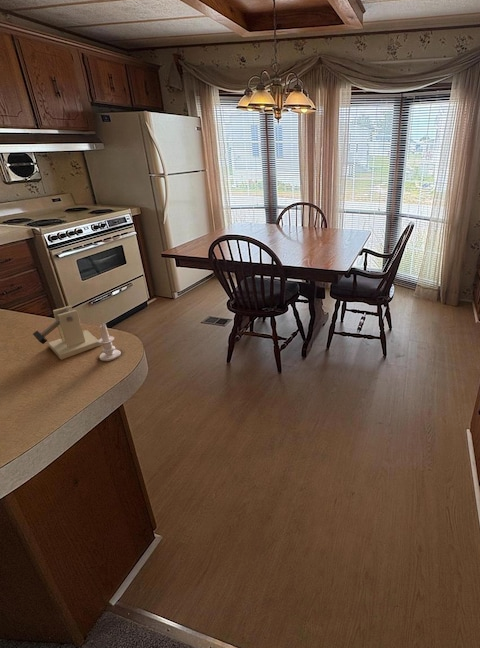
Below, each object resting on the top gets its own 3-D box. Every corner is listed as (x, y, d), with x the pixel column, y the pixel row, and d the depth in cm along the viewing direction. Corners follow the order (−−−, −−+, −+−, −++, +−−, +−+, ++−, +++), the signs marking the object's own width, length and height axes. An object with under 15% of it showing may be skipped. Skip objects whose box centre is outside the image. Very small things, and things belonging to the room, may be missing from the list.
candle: (105, 363, 94) (97, 330, 90) (95, 357, 96) (87, 324, 92) (124, 354, 98) (117, 322, 94) (114, 348, 100) (106, 317, 96)
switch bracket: (61, 359, 94) (49, 322, 90) (49, 346, 100) (37, 310, 96) (100, 345, 102) (91, 309, 97) (87, 334, 107) (78, 300, 103)
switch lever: (44, 345, 92) (37, 340, 91) (38, 337, 96) (30, 332, 94) (77, 318, 97) (71, 313, 95) (70, 311, 100) (63, 306, 99)
